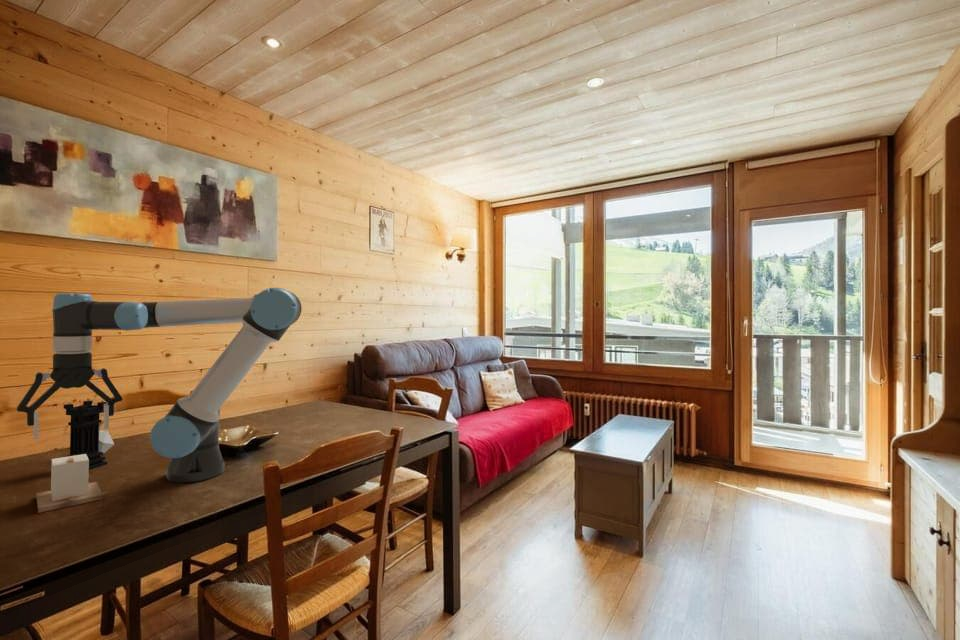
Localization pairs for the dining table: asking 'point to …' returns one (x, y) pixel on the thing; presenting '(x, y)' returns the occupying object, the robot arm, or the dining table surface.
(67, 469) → the cream white block
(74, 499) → the hub plate
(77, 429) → the chess piece
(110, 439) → the die
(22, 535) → the dining table surface
